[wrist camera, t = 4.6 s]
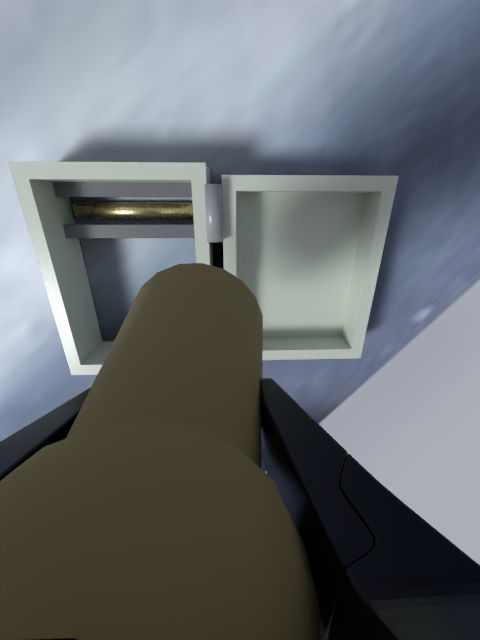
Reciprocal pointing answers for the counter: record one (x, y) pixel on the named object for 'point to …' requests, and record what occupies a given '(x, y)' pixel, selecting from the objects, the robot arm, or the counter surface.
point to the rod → (133, 210)
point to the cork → (160, 489)
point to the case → (103, 232)
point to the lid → (308, 256)
